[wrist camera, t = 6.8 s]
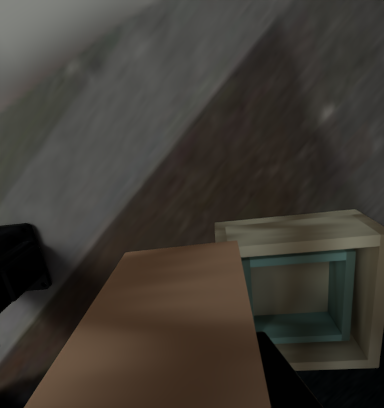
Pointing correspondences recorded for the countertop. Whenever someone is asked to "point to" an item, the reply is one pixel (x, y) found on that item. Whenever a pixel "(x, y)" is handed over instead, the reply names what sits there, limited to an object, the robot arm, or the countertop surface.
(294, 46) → the countertop surface
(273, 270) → the socket box
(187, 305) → the peg
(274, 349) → the robot arm
